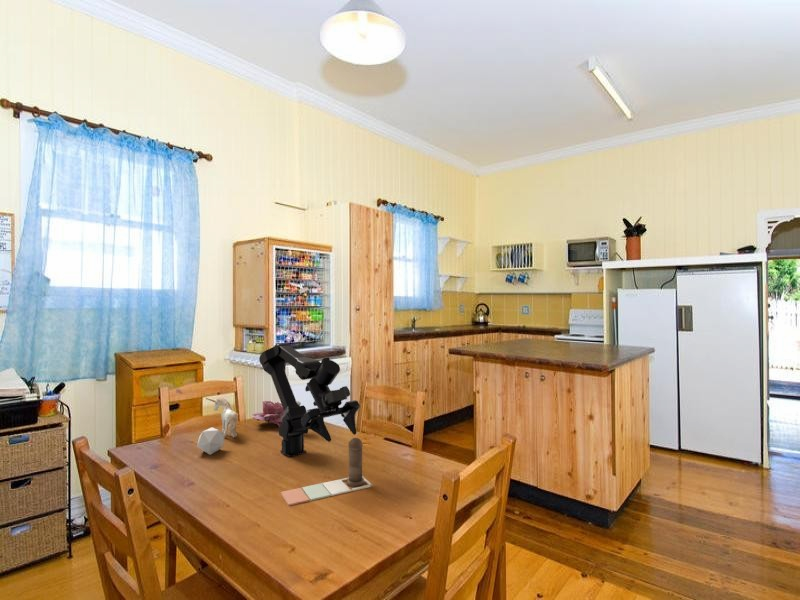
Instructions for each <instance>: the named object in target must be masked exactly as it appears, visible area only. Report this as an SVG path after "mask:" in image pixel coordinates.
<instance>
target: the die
mask: <svg viewBox="0 0 800 600" xmlns="http://www.w3.org/2000/svg"><path fill="white" fill-rule="evenodd" d="M224 436H225V435H224V434H223V433H222V431H220V430H219V429H217V428H215V427H213V426H212V427H209V428H208V429H205V430H203V431H202V432H201V434H200V435H199V437H198V441H197V445H196V447H197V448H198V449H199V450H201V451H203V452H204V453H206V454H208V455H209V456H210V455H213V454H214V453H216V452H218V451H220V450H221V449H222V447H223V445H224V442H225V438H224Z"/></svg>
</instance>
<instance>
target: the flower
mask: <svg viewBox="0 0 800 600" xmlns="http://www.w3.org/2000/svg"><path fill="white" fill-rule="evenodd" d="M283 413H284V410H283V407H282V404H281V402H279V401H276V402H273V401H271V400H269V401H268V400H265V401H262V412H253V413H252V416H253V417H252V418H253V420H256V421H263V422H265V423H267V424H268V426H269V424H274V425H277V427H278V428H279V427H280V426H281V425H282V423H283V422H282V417H283Z"/></svg>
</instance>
